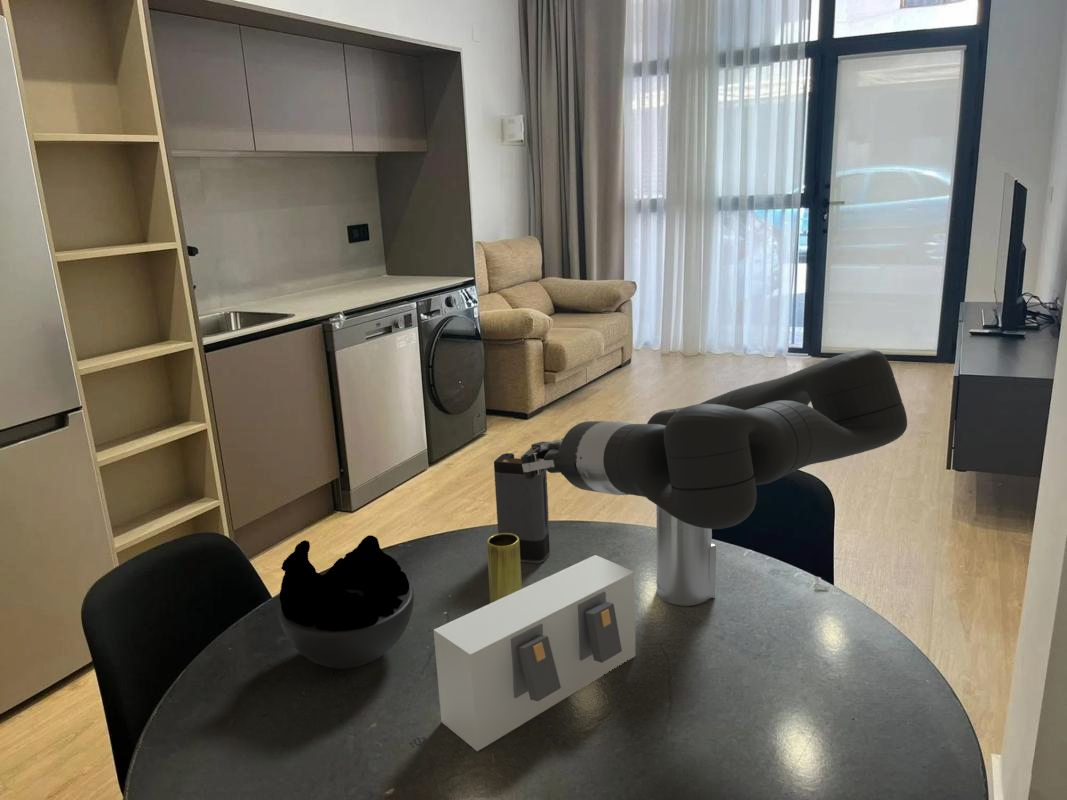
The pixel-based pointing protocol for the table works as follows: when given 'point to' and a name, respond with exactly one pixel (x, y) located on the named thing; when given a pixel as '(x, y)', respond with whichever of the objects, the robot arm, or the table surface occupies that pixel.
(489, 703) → the power box
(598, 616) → the block
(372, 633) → the coal bowl
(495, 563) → the vase
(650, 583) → the table surface
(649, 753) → the table surface
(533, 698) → the outer rocker
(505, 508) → the electronic device
